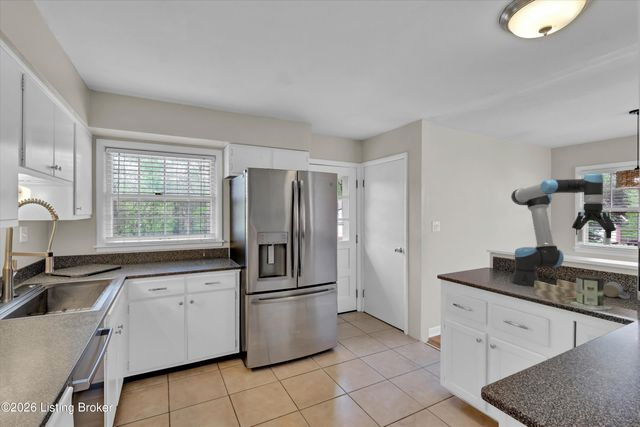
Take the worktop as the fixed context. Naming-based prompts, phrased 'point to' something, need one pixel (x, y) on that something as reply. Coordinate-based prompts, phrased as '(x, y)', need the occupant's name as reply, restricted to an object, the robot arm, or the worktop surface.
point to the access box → (557, 291)
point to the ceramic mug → (614, 290)
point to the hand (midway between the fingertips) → (592, 243)
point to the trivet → (591, 307)
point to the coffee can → (590, 290)
